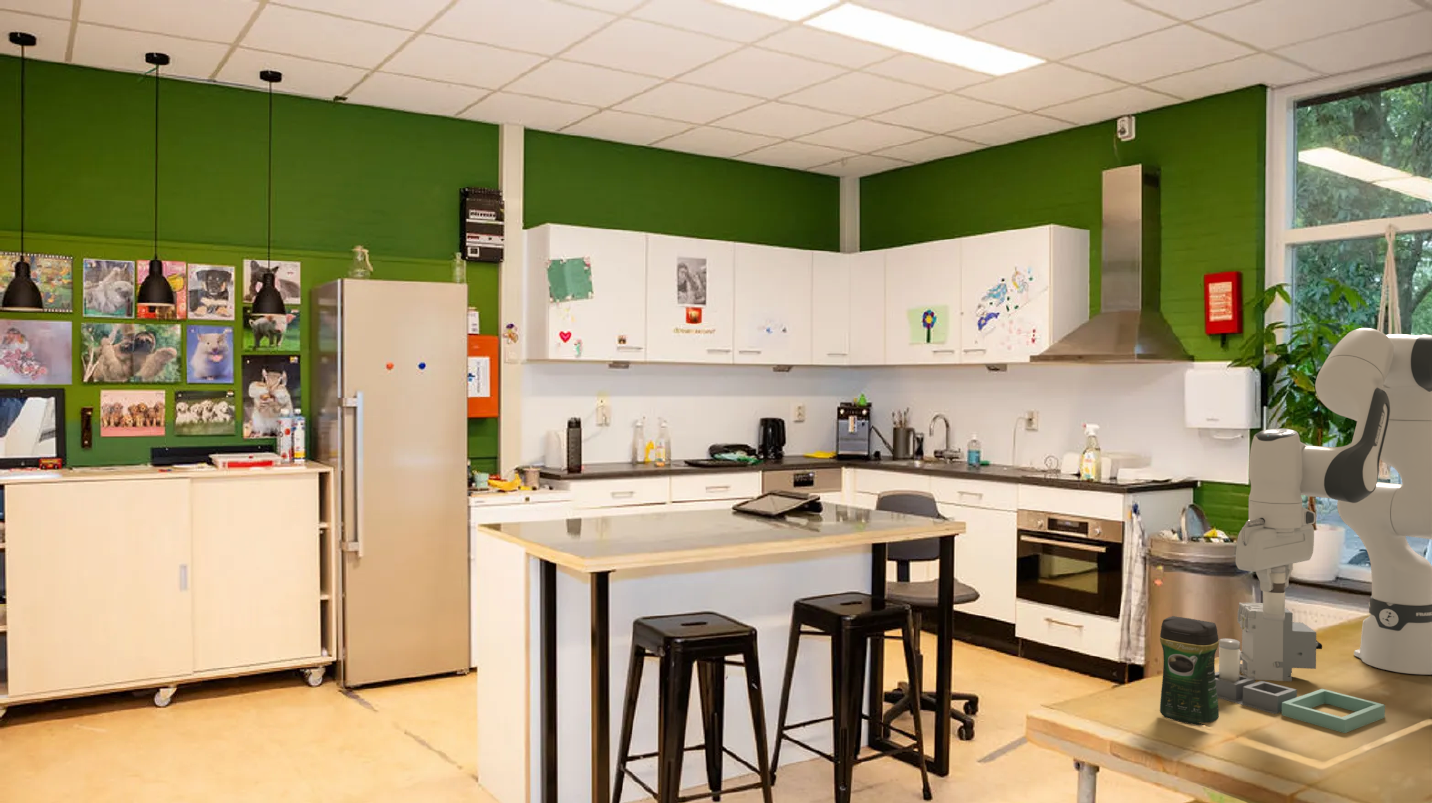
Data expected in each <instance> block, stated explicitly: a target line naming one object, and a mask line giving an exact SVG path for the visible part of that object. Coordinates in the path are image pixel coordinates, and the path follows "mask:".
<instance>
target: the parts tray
mask: <svg viewBox="0 0 1432 803" xmlns="http://www.w3.org/2000/svg"><path fill="white" fill-rule="evenodd" d="M1324 704H1325V705H1330V706H1333V707H1337V708H1341V709H1345V710H1347V711H1348V710H1349V711H1352V712H1351V713H1350V714H1346V715H1344V716H1339V715H1337V714H1336V715H1335V714H1332V713H1328V712H1324V711H1320V710H1317V709H1314V708H1315V707H1318V706H1322V705H1324ZM1385 715H1386V705H1385V704H1383V703H1379V702H1376V701H1372V700H1367V699H1364V698H1360V697H1357V696H1353V695H1348V694H1344V693H1341V692H1336V691H1333V690H1330V689H1329V690H1328V689H1326V688H1325V689H1324V688H1320V689H1317V690H1315V691H1312V692H1308V693H1306V694H1302V695H1300V696H1297V697H1296V698H1294V699H1291V700H1288V701H1285V702H1282V712H1281V716H1283V717H1286V718H1290V719H1294V720H1297V721H1301V722H1305V723H1308V724H1311V725H1315V726H1318V727H1322V728H1325V729H1329V730H1332V731H1336V732H1339V733H1343V734H1346V733H1348V732H1351V731H1354V730H1356V729H1359V728H1362V727H1365V726H1367V725H1370V724H1372V723H1374V722H1377V721H1380V720H1382V719H1385V717H1386V716H1385Z"/></svg>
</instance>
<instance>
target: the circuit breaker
mask: <svg viewBox="0 0 1432 803" xmlns="http://www.w3.org/2000/svg"><path fill="white" fill-rule="evenodd" d="M1293 619H1294V618H1293V612H1292V611H1290V610H1289V609H1287V607H1285V620H1284V621H1271V620H1266V619H1264V618H1263V602H1239V603H1238V609H1237V624H1239V627H1240V629H1241V650H1240V661H1241V662H1242V663H1240V673H1241V674H1242V675H1243V676H1246V677H1250V678H1254V679H1255V681H1256V680H1259V681H1276V682H1277V681H1278V682H1292V681H1293V677H1292V674H1293V669H1308V670H1309V669H1312V670H1314V669H1315V670H1316V669H1317V650H1322V649H1323V644H1322V643H1321V642H1319V641H1318V640H1317V631H1315V630H1314V629H1312V628H1311V627H1309V626H1308V625H1307V624H1305V623H1304V622H1298V621H1297V622H1296V621H1294V620H1293ZM1293 621H1294V622H1293Z"/></svg>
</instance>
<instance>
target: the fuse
mask: <svg viewBox="0 0 1432 803" xmlns="http://www.w3.org/2000/svg"><path fill="white" fill-rule="evenodd" d="M1240 648H1241V642H1240V641H1239V640H1237V639H1234V638H1220V639H1219V645H1218V672H1219V679H1222V680H1226V681H1230V682H1233V683H1234V682H1237V681H1239V678H1240V675H1241V674H1240V673H1241V671H1240V664H1241V660H1240V651H1241V649H1240Z"/></svg>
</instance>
